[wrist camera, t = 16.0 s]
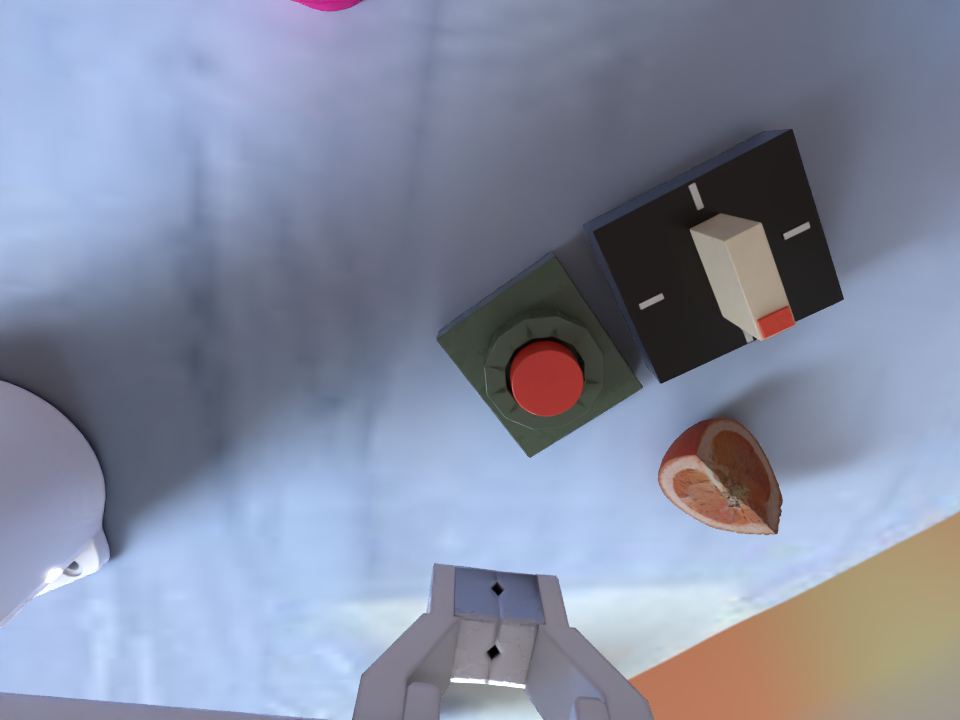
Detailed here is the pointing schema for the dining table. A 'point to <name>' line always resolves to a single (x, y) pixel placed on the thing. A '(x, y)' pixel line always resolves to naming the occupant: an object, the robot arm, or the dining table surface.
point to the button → (546, 378)
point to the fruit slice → (722, 478)
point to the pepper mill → (329, 4)
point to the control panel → (678, 267)
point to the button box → (527, 319)
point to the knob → (743, 275)
